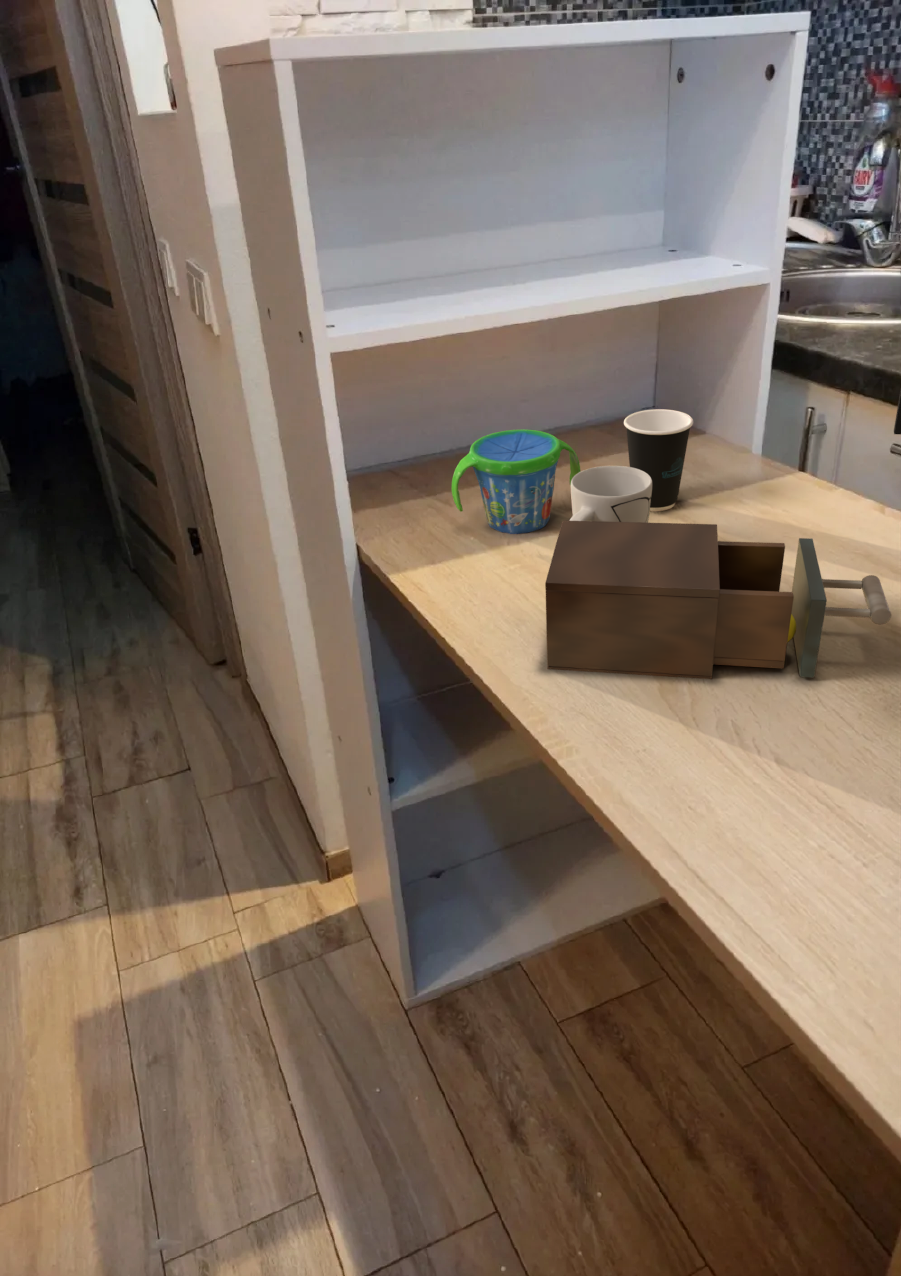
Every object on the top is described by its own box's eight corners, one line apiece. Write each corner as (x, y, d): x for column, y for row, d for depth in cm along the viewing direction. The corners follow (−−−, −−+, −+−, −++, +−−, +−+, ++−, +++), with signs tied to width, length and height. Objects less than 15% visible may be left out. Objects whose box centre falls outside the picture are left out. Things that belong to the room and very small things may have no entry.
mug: (604, 603, 95) (605, 514, 90) (539, 580, 100) (536, 495, 95) (663, 560, 102) (667, 475, 97) (600, 541, 107) (600, 459, 102)
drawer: (866, 613, 88) (880, 540, 84) (886, 682, 79) (903, 603, 75) (659, 604, 93) (662, 534, 88) (655, 668, 83) (658, 593, 79)
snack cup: (463, 552, 107) (456, 470, 102) (448, 515, 116) (441, 438, 111) (593, 533, 109) (593, 451, 104) (568, 498, 118) (567, 421, 112)
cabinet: (709, 611, 92) (717, 524, 87) (711, 684, 82) (719, 589, 77) (563, 604, 96) (562, 520, 91) (547, 673, 85) (545, 582, 80)
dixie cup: (626, 492, 118) (628, 408, 112) (690, 495, 116) (695, 409, 110) (617, 518, 112) (619, 431, 106) (684, 522, 110) (690, 433, 104)
